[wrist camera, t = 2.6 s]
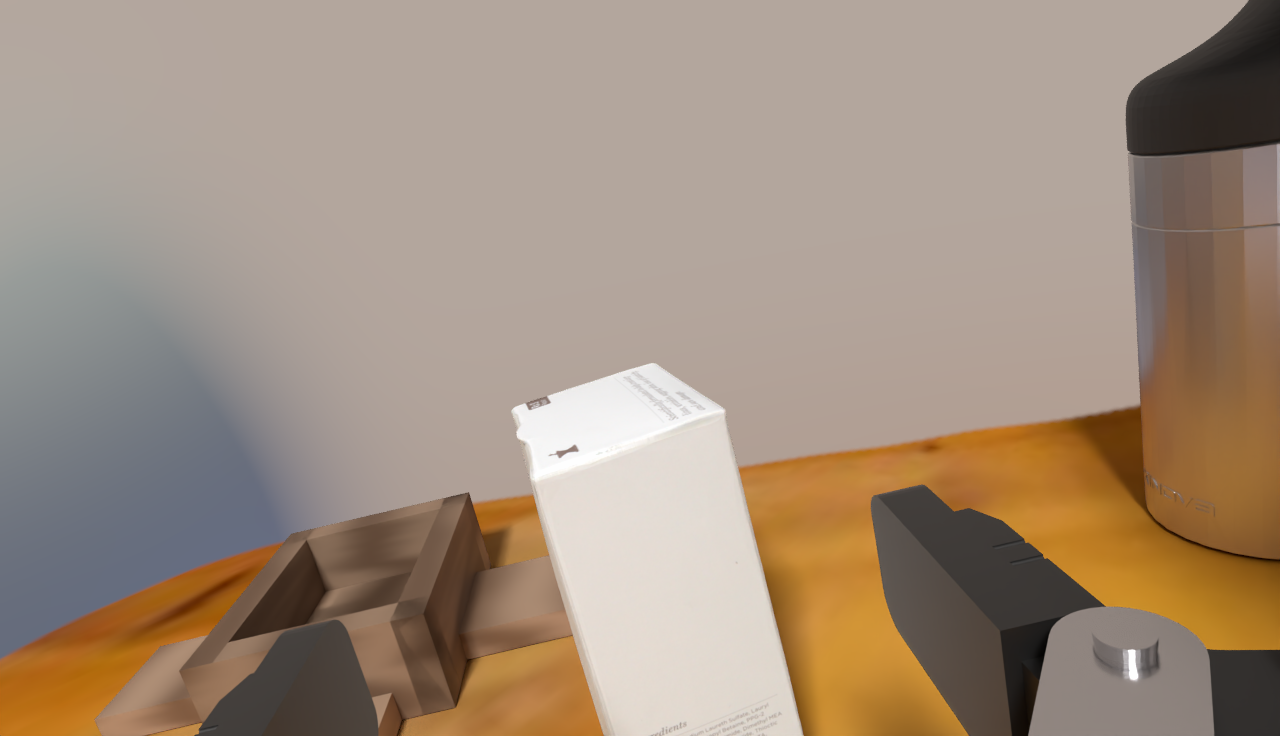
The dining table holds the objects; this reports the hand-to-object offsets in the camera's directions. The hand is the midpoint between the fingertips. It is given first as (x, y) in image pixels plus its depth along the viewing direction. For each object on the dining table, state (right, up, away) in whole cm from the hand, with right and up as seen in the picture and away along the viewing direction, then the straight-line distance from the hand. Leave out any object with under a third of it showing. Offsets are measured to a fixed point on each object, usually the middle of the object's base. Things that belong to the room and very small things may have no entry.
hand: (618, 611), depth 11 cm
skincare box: (+3, -12, +16) cm, 20 cm away
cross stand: (-14, -11, +30) cm, 35 cm away
